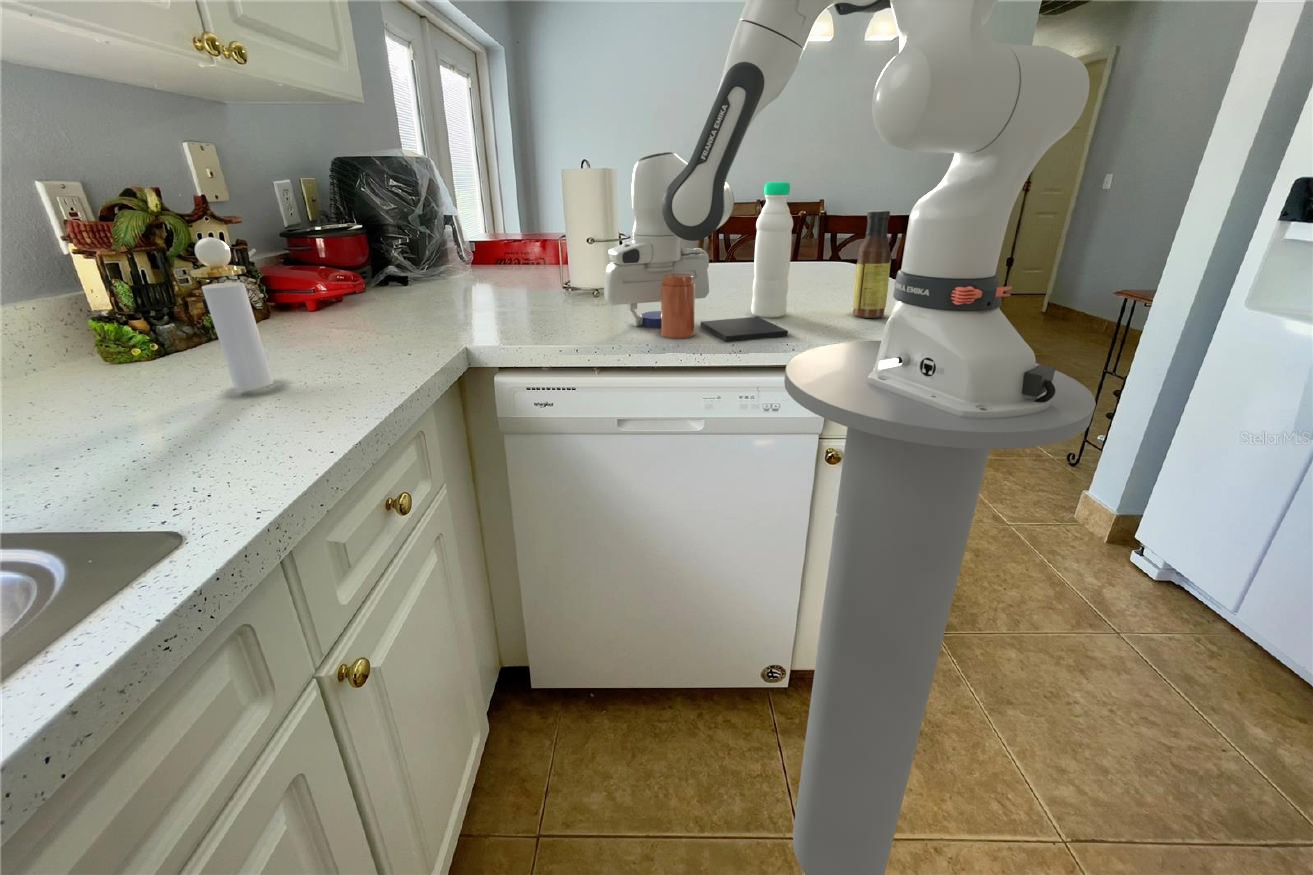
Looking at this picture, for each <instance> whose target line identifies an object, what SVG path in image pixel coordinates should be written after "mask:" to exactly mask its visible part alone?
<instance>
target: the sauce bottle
mask: <svg viewBox="0 0 1313 875" xmlns="http://www.w3.org/2000/svg"><path fill="white" fill-rule="evenodd" d="M890 218H891V211H890V210H882V209H881V210H867V215H866V219H867V222H866V223H867V225H866V232H865V237H864V239H863V241H862V243H861V244H860V246H859V248H858V252H857V261H856V269H855V279H854V291H853V299H852V300H853V301H852V308H853V310H852V315H853V316H855V317H858V318H862V319H863V318H864V319H877V318H882V317H883V316H884V315H885V311H886V307H887V299H888V290H889V282H890V272H891V263H892V255H891V254H892V253H891V248H890V242H889V237H888V227H889V220H890Z"/></svg>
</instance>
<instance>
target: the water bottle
mask: <svg viewBox="0 0 1313 875" xmlns="http://www.w3.org/2000/svg"><path fill="white" fill-rule="evenodd" d="M763 192H764V198H765V204H764V205H763V207H762V209H761V210H760V211H761V212H760V214H759V216H758V218H757V220H756V223H755V229H756V235H755V242H754V243H755V244H754V245H755V246H754V258H753V259H754V260H753V261H754V262H753V275H754V277H753V281H752V299H751V310H750V311H751V313H752V315H754V316H755V317H759V318H780V317H783V316H784V315H786V313H787V308H788V306H787V305H788V302H787V301H788V300H787V295H788V290H789V273H790V266H791V265H790V264H791V254H792V241H793V240H792V237H793V236H792V230H793V227H794V220H793V217H792V214H791V213H790V212H791V211H790V207H789V205H788V202H787V199H788V198H789V195H790V192H791V185H790V183H789V182H788V181H768V182H766V183H765V184H764V188H763Z"/></svg>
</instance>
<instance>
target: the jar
mask: <svg viewBox="0 0 1313 875" xmlns="http://www.w3.org/2000/svg"><path fill="white" fill-rule="evenodd" d="M693 279H694V278H693V275H691V274H683V273H674V274H666V275H663V283H661V302H660V311H661V328H660V335H661V336H662V337H663V338H667V339H687V338H692V337H694V335H695V314H696V312H695V310H696V309H695V308H696V307H695V306H696V299H695V283H693Z"/></svg>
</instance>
